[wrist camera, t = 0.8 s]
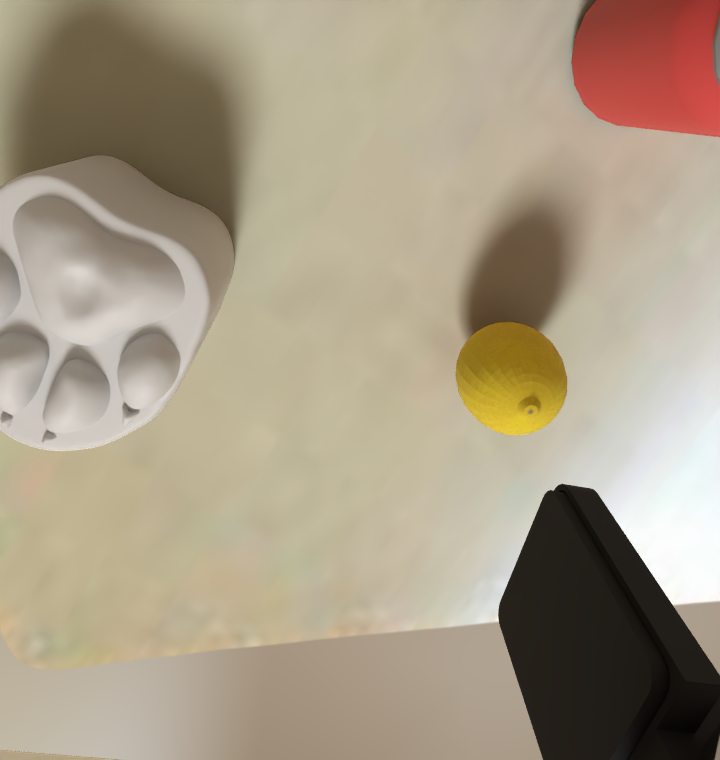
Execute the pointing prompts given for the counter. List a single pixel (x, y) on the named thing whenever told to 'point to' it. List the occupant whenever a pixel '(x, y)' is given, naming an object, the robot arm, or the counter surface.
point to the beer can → (651, 64)
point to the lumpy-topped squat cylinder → (100, 300)
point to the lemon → (511, 378)
